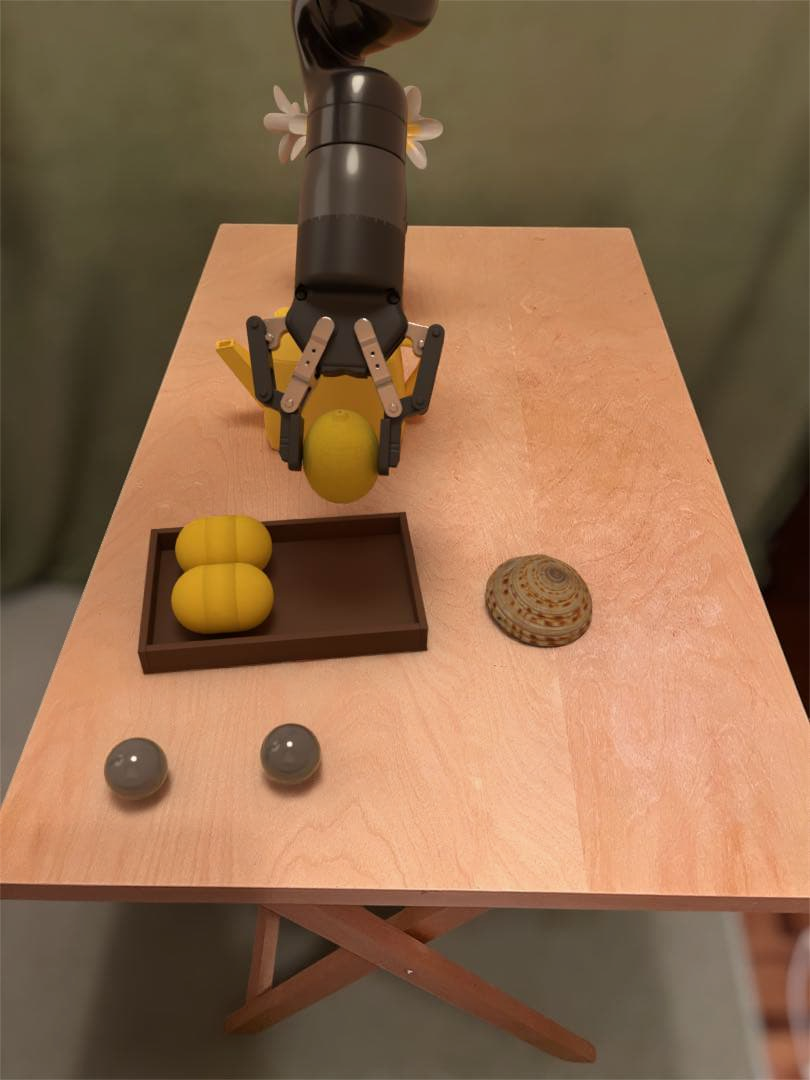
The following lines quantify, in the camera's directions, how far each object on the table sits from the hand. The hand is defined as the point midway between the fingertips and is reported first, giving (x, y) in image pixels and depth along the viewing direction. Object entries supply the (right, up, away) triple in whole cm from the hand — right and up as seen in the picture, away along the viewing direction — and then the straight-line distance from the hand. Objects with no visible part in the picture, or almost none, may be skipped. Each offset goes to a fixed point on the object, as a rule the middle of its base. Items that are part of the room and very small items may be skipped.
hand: (339, 471), depth 63 cm
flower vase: (-1, +23, +45) cm, 50 cm away
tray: (-5, -9, +10) cm, 15 cm away
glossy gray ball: (-13, -21, -2) cm, 25 cm away
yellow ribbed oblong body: (-9, -11, +8) cm, 16 cm away
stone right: (-3, -20, -1) cm, 21 cm away
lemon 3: (0, -2, +4) cm, 5 cm away
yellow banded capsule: (-10, -7, +12) cm, 17 cm away
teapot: (-3, +7, +28) cm, 29 cm away
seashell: (+15, -10, +10) cm, 21 cm away
